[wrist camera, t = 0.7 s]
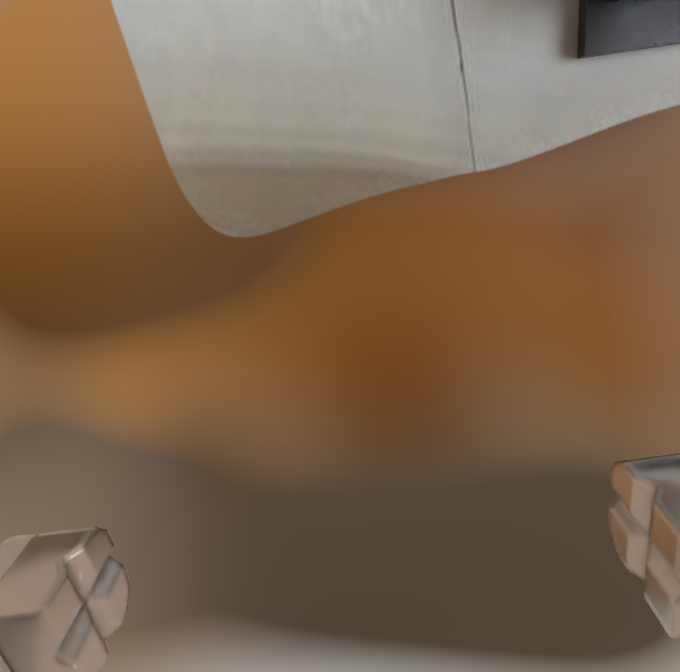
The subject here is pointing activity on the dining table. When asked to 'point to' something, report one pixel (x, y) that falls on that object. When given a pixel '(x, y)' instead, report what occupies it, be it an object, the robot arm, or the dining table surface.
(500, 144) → the dining table surface
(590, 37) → the bracket
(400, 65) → the dining table surface
